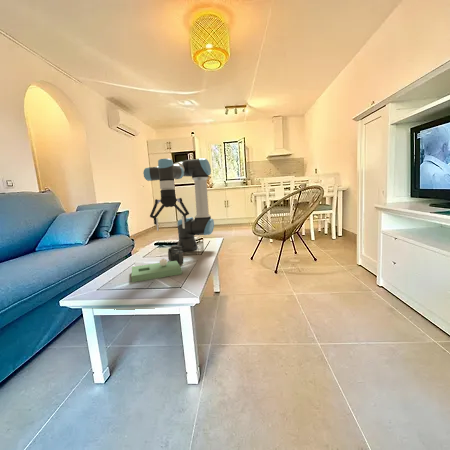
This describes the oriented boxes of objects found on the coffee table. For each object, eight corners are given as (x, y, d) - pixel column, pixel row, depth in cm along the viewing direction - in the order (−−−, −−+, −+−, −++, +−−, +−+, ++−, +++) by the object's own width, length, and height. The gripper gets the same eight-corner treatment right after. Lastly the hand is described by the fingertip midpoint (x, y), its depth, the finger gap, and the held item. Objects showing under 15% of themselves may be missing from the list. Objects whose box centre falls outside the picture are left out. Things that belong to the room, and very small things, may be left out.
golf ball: (167, 264, 132) (166, 257, 132) (168, 266, 128) (167, 259, 128) (159, 266, 131) (158, 258, 130) (160, 268, 127) (159, 260, 127)
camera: (189, 261, 148) (188, 245, 146) (175, 265, 141) (174, 248, 139) (176, 258, 157) (175, 243, 156) (163, 262, 150) (161, 246, 149)
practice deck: (176, 265, 141) (176, 260, 140) (182, 274, 125) (181, 268, 124) (132, 272, 133) (132, 266, 132) (132, 282, 117) (131, 276, 116)
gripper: (189, 188, 135) (192, 226, 138) (142, 190, 127) (146, 231, 129) (192, 187, 128) (195, 227, 131) (142, 190, 120) (146, 232, 122)
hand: (171, 229), depth 130 cm, fingers open, 13 cm apart
